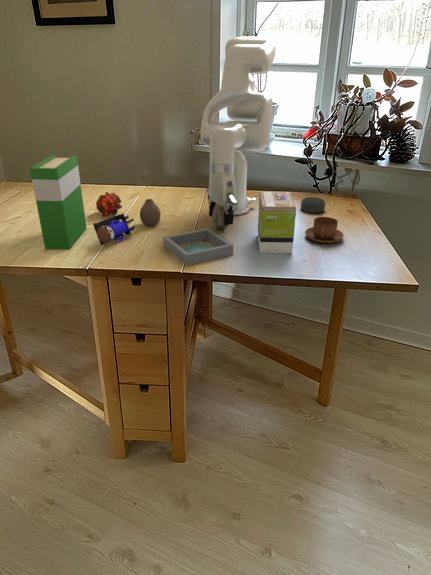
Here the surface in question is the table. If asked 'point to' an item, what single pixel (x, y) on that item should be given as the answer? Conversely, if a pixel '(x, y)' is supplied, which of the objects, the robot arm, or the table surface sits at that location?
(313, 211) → the smart speaker
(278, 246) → the tea box
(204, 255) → the walled pen
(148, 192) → the table surface
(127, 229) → the character figurine
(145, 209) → the vase
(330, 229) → the cup and saucer
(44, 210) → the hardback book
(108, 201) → the dragon fruit
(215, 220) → the decorative egg
